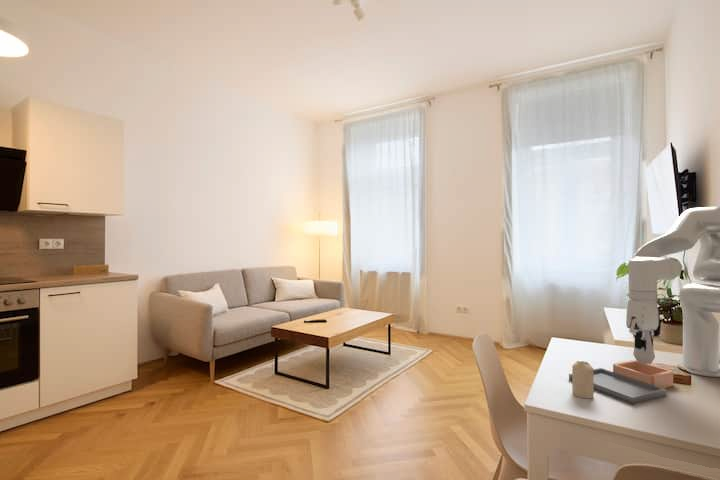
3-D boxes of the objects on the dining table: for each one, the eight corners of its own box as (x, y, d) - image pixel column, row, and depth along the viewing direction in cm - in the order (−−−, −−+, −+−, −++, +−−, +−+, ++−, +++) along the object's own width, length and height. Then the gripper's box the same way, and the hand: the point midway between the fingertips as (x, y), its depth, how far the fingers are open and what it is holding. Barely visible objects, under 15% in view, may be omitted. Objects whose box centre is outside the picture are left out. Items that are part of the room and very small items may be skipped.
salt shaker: (659, 365, 117) (658, 325, 117) (639, 364, 119) (638, 325, 118) (648, 359, 123) (647, 321, 123) (629, 358, 124) (629, 321, 124)
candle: (586, 400, 106) (586, 366, 106) (568, 393, 111) (568, 360, 111) (597, 396, 108) (597, 363, 109) (579, 389, 113) (579, 358, 113)
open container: (634, 372, 129) (634, 359, 129) (675, 385, 117) (675, 371, 117) (611, 377, 124) (611, 364, 124) (651, 391, 112) (651, 376, 112)
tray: (600, 373, 128) (600, 367, 128) (666, 395, 109) (666, 389, 109) (569, 379, 122) (569, 373, 122) (632, 404, 103) (632, 397, 103)
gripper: (645, 292, 127) (646, 343, 127) (615, 296, 121) (616, 350, 121) (670, 295, 120) (671, 349, 120) (639, 299, 114) (640, 356, 114)
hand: (643, 349), depth 121 cm, fingers closed on salt shaker, 3 cm apart
